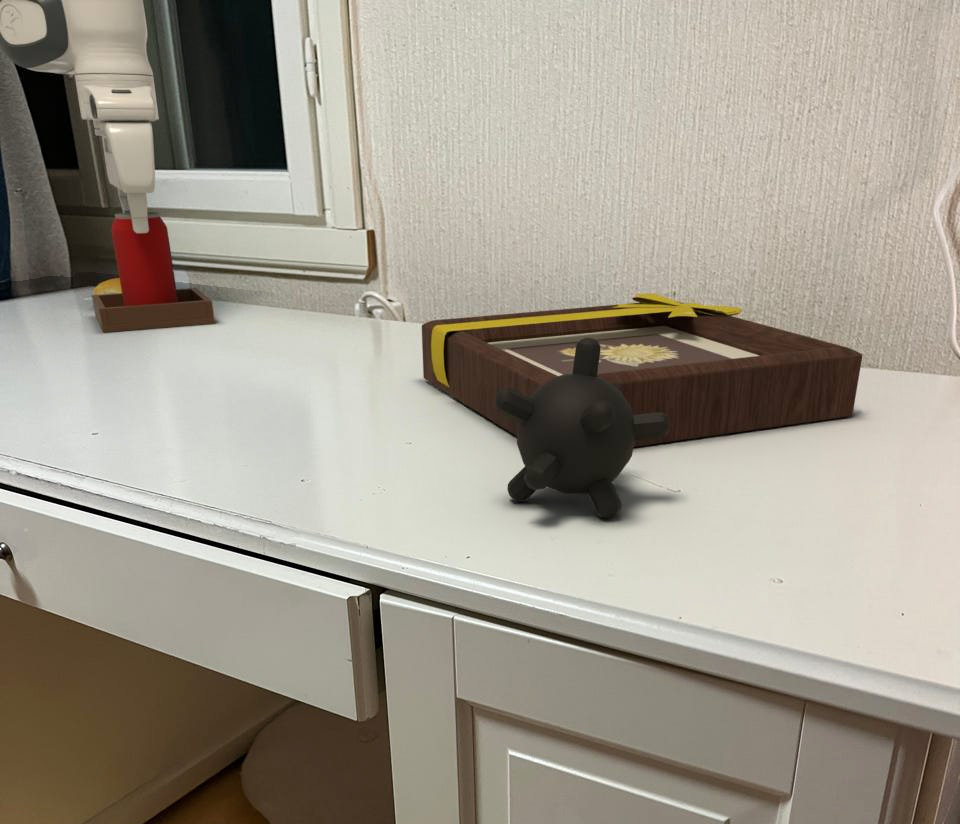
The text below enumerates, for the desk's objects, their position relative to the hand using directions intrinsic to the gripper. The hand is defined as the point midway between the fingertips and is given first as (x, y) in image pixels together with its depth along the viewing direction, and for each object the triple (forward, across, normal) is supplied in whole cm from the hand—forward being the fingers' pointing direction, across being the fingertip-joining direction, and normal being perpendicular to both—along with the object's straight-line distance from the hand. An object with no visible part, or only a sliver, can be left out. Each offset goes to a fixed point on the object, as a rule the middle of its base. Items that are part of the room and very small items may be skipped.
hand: (136, 229), depth 124 cm
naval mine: (+10, +86, +18) cm, 88 cm away
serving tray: (+11, 0, 0) cm, 11 cm away
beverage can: (+10, 0, 0) cm, 10 cm away
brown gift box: (+10, +63, +34) cm, 72 cm away
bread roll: (+11, -13, -2) cm, 18 cm away
